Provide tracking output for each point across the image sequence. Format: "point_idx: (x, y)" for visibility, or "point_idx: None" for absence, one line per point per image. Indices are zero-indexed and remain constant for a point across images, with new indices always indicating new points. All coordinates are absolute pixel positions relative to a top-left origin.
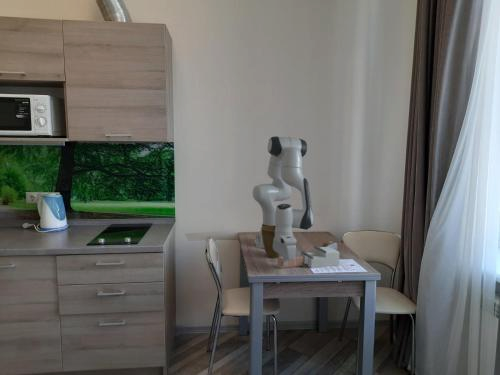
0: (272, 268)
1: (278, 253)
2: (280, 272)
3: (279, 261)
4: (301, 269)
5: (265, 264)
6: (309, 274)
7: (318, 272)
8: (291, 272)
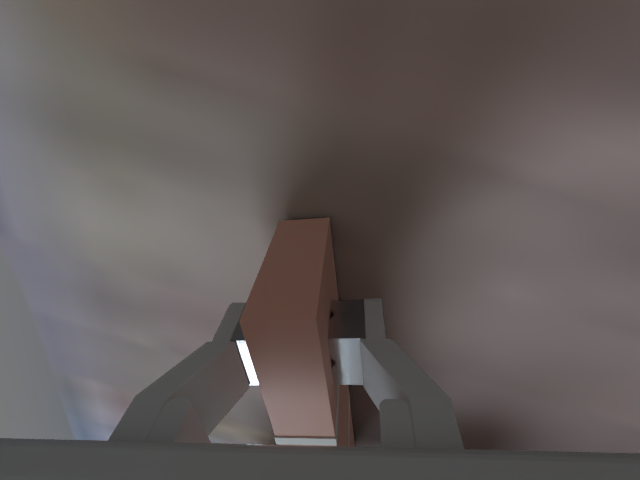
0: (302, 115)
1: (392, 454)
2: (112, 184)
3: (255, 293)
4: None
5: (582, 34)
6: (94, 410)
7: None
8: (129, 306)
